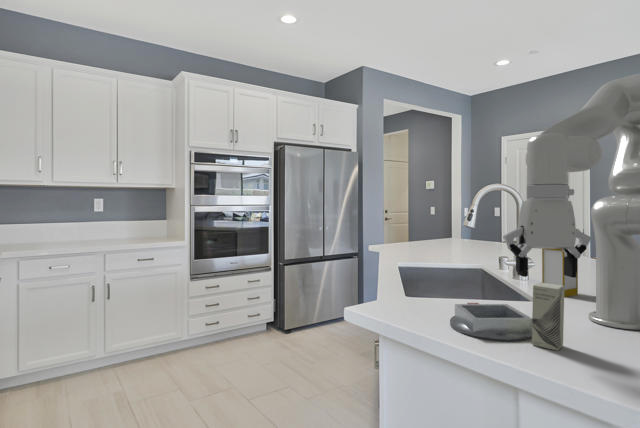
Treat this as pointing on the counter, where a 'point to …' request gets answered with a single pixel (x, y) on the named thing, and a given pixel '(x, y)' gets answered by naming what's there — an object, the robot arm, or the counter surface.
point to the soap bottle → (558, 271)
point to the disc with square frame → (491, 322)
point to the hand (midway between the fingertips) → (546, 276)
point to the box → (548, 315)
